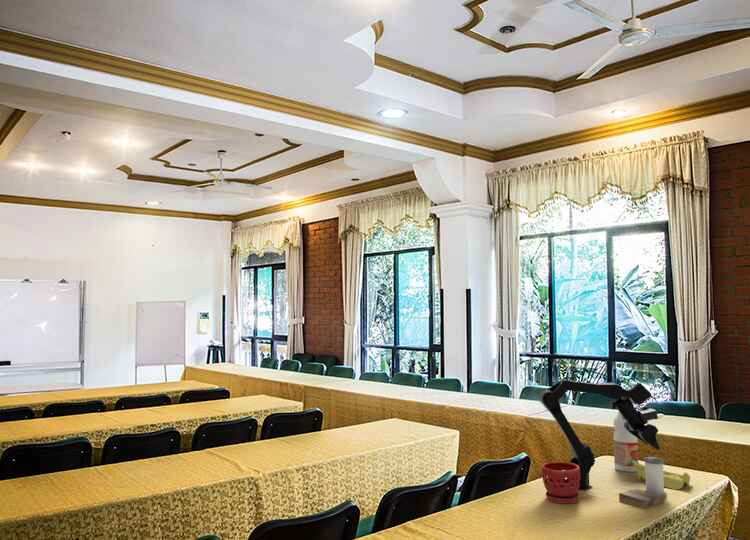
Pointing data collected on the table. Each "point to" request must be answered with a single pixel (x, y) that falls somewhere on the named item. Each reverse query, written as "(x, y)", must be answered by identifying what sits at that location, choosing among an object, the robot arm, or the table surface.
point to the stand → (641, 498)
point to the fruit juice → (624, 446)
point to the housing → (654, 475)
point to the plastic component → (666, 477)
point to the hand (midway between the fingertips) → (653, 446)
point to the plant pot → (561, 481)
